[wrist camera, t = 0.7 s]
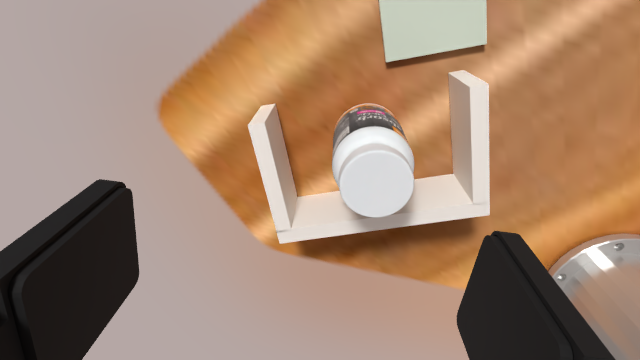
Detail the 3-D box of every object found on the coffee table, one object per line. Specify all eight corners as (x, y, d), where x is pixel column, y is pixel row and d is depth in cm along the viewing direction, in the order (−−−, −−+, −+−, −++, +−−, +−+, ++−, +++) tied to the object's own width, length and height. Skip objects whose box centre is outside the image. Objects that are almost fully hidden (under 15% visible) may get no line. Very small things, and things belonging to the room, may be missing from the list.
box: (467, 183, 35) (489, 215, 30) (287, 210, 37) (279, 243, 32) (463, 69, 31) (488, 83, 26) (261, 105, 32) (247, 125, 27)
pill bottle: (411, 114, 32) (440, 158, 23) (385, 174, 35) (402, 235, 26) (345, 92, 32) (349, 129, 23) (324, 154, 34) (319, 211, 25)
